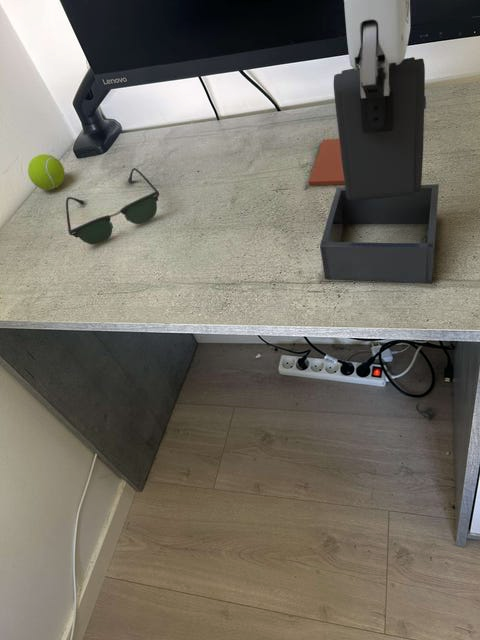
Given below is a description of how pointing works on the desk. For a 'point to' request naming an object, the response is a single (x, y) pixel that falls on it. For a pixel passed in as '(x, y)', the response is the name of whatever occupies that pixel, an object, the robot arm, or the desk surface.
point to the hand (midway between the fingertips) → (380, 117)
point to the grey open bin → (380, 257)
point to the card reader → (382, 135)
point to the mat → (328, 165)
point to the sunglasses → (102, 226)
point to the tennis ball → (46, 172)
